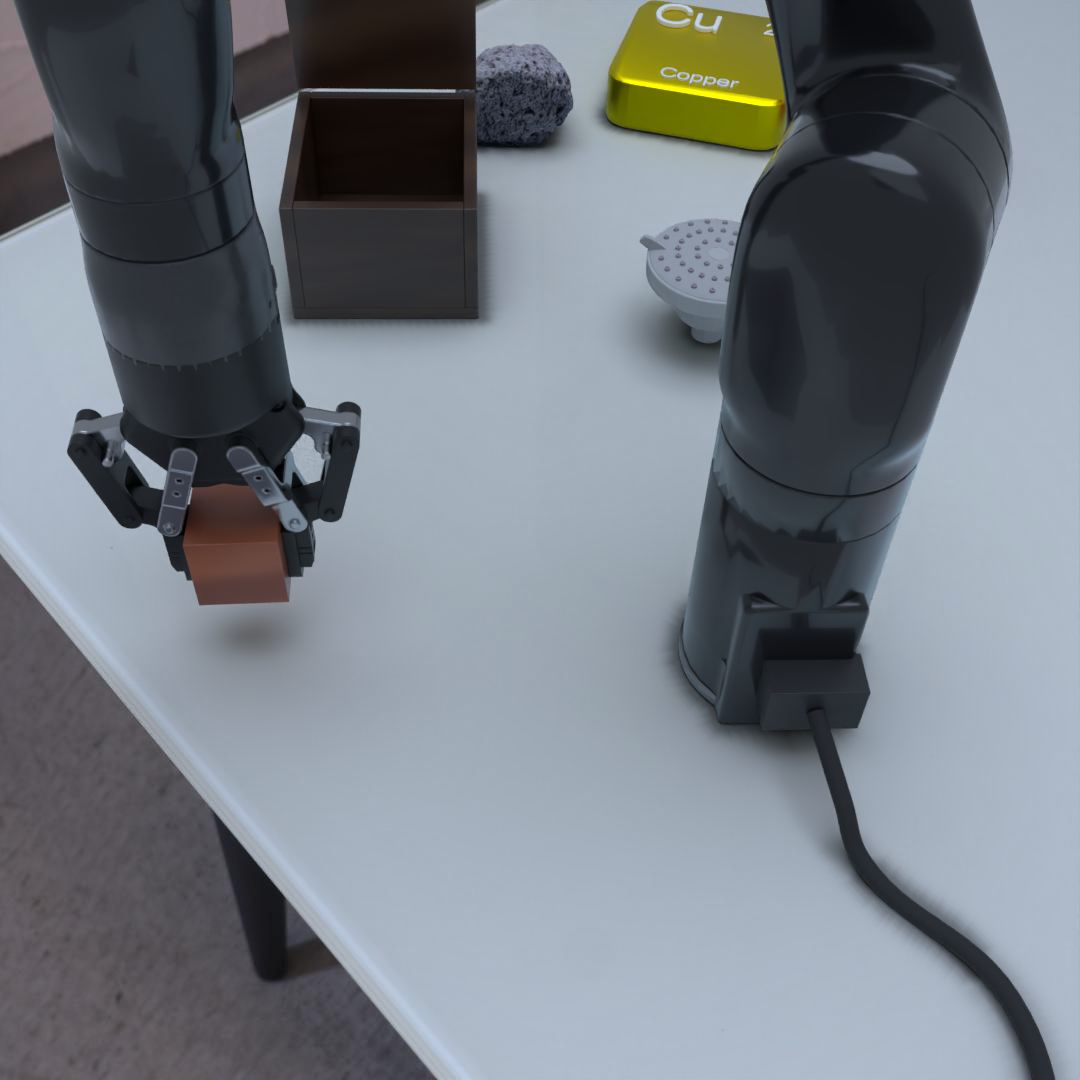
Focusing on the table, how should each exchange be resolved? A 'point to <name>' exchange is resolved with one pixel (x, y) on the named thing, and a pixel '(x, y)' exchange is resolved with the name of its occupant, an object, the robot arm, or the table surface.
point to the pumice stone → (519, 95)
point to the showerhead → (694, 271)
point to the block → (234, 548)
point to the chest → (382, 205)
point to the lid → (383, 44)
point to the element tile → (699, 77)
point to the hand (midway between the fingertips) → (247, 565)
